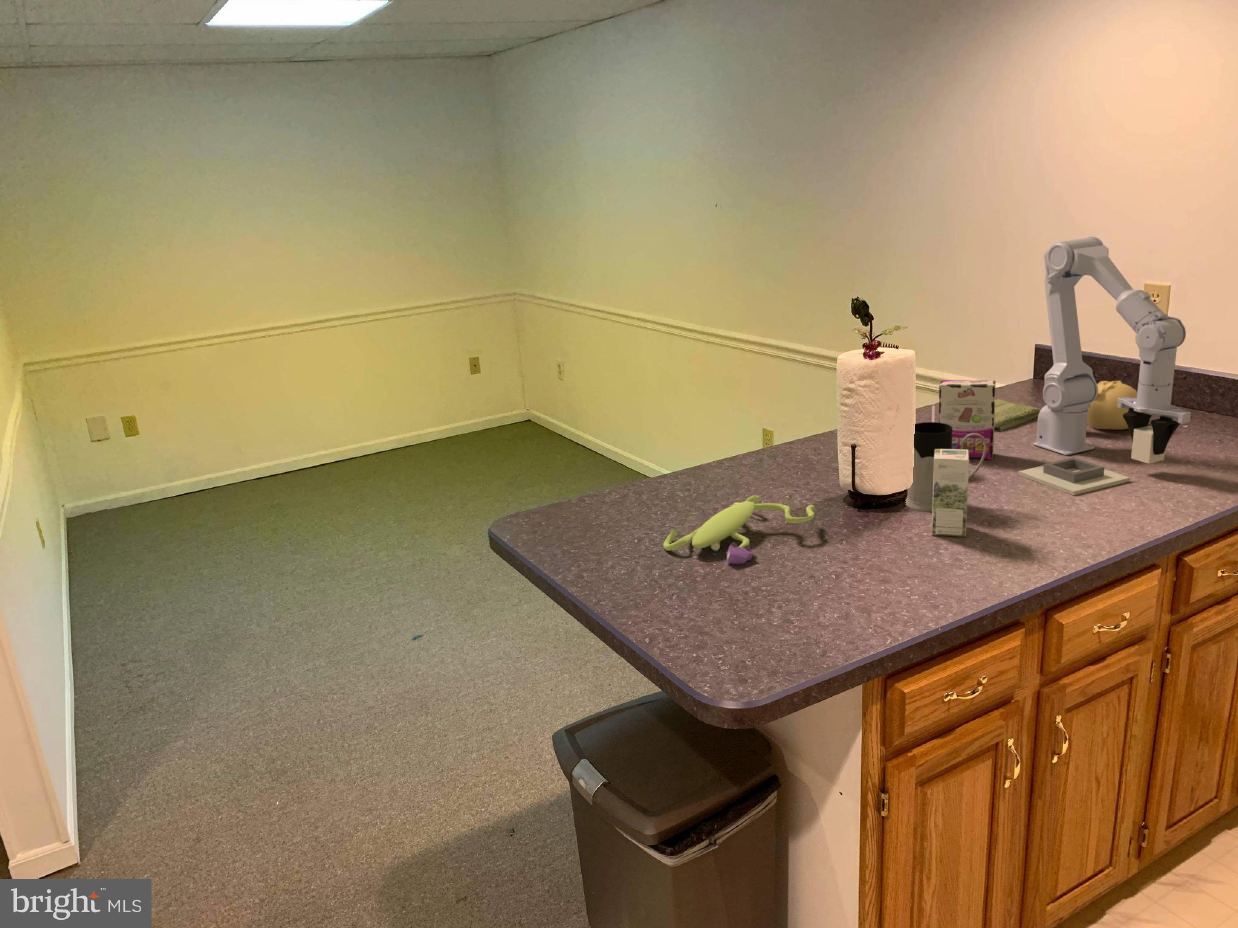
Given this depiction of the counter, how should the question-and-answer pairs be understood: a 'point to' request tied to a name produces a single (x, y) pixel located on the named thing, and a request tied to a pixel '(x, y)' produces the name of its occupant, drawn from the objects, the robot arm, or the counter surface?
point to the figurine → (732, 528)
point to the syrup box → (950, 492)
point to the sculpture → (1109, 406)
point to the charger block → (1144, 446)
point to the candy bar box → (969, 414)
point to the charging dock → (1074, 476)
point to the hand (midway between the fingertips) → (1148, 450)
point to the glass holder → (930, 461)
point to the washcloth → (1012, 414)
